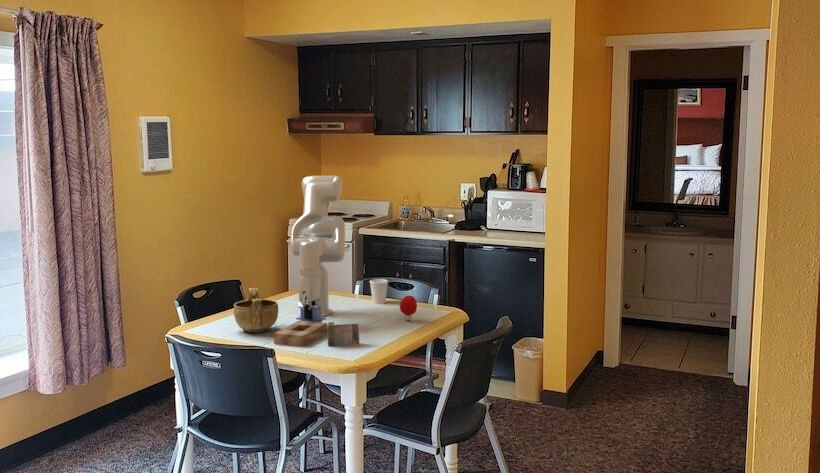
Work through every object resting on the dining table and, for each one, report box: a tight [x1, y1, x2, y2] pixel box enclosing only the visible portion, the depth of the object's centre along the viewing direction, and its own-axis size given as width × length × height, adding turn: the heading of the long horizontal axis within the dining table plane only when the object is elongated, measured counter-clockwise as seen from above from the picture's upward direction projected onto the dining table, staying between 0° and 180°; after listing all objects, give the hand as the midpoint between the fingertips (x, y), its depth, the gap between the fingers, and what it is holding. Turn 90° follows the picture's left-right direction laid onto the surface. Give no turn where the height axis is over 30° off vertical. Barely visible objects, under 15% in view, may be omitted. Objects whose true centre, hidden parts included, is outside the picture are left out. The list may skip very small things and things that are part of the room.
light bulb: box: [399, 295, 418, 322], centre depth 320 cm, size 9×7×10 cm
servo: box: [296, 305, 327, 323], centre depth 311 cm, size 11×4×9 cm, turn 71°
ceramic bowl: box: [233, 287, 279, 333], centre depth 306 cm, size 22×17×15 cm
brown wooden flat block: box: [273, 320, 328, 348], centre depth 294 cm, size 12×20×4 cm, turn 161°
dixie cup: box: [369, 278, 389, 305], centre depth 354 cm, size 8×8×10 cm
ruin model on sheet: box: [327, 321, 360, 347], centre depth 285 cm, size 11×3×10 cm, turn 97°
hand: (311, 317), depth 311 cm, fingers closed on servo, 4 cm apart
